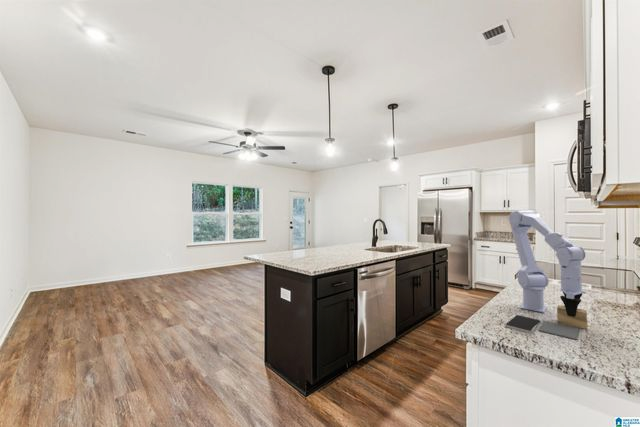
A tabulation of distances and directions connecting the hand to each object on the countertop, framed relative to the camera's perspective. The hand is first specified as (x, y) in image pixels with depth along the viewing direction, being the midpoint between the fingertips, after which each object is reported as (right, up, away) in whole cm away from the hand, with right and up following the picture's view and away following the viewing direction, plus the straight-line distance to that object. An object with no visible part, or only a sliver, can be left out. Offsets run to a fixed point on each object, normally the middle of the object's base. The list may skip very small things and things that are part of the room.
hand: (572, 313), depth 101 cm
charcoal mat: (-9, -4, -5) cm, 11 cm away
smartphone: (-18, -5, +1) cm, 19 cm away
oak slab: (0, -4, 0) cm, 4 cm away
